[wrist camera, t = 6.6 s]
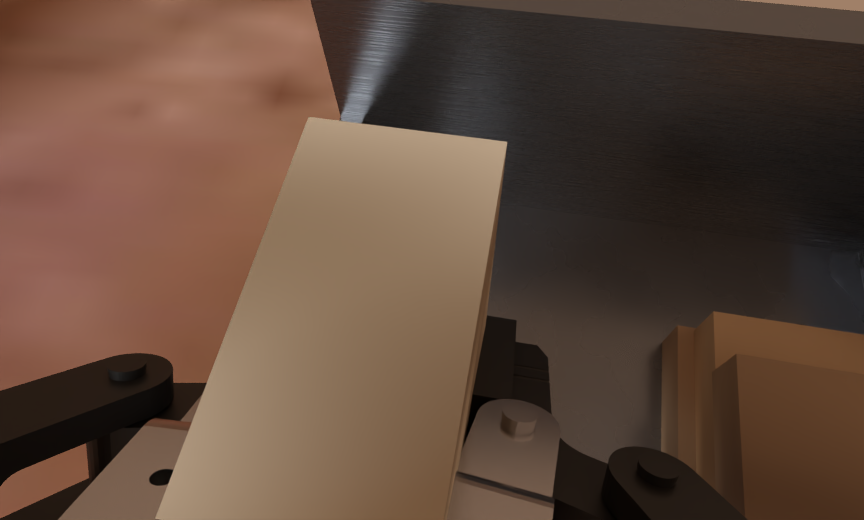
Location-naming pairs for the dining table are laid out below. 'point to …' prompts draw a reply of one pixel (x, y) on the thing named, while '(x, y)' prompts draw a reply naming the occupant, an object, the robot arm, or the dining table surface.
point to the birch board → (351, 335)
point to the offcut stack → (768, 415)
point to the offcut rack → (634, 169)
